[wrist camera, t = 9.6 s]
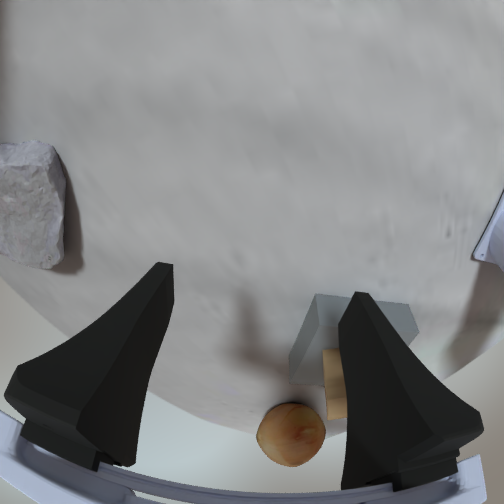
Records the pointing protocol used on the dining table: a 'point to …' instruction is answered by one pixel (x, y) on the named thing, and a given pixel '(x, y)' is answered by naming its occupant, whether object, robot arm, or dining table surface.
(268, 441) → the onion
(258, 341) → the dining table surface
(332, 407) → the oak cube
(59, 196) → the stone block
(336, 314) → the slate block
